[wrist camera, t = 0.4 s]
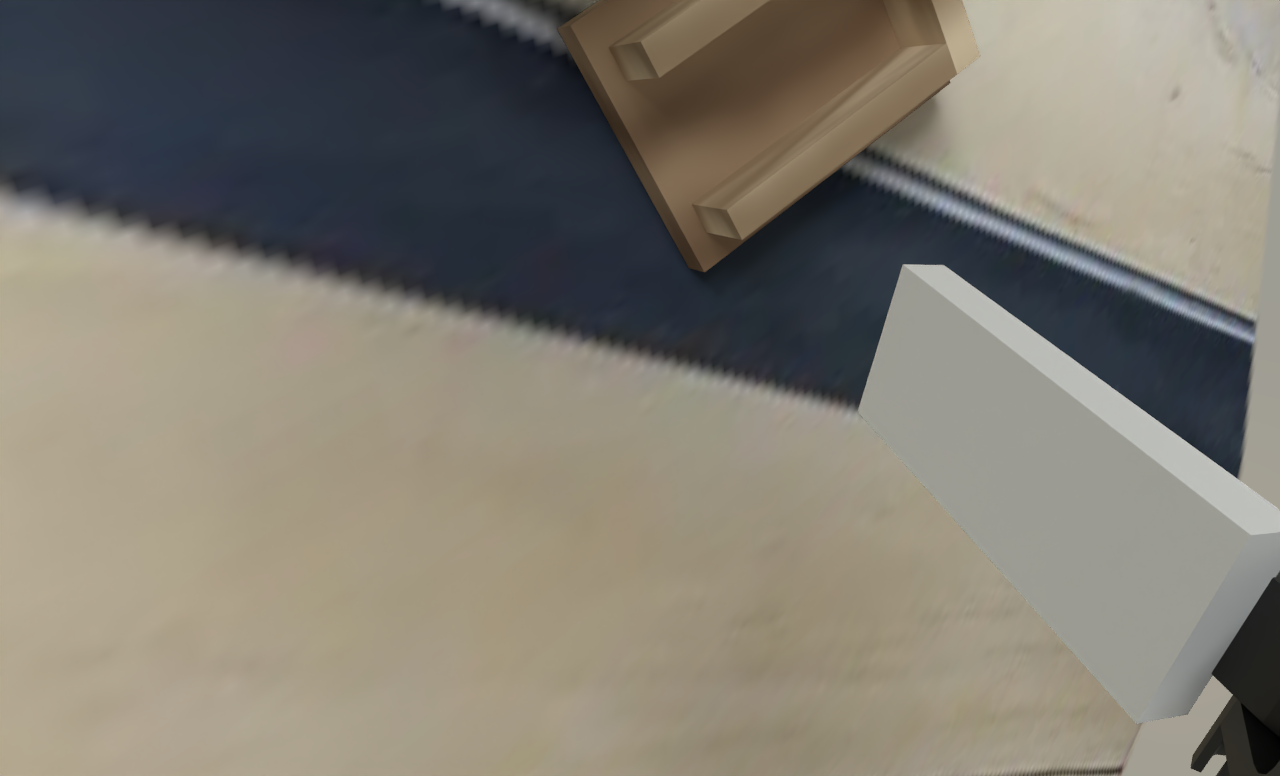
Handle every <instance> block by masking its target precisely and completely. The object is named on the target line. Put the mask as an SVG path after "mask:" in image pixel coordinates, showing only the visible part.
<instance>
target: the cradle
mask: <svg viewBox="0 0 1280 776" xmlns="http://www.w3.org/2000/svg"><path fill="white" fill-rule="evenodd" d="M557 30H558V32H559V34H560V35H561V37H562V39H563V41H564V43H565V44H566V46H567V48H568V50H569V52H570V53H571V55H572V57H573V59H574V61H575V63H576V64H577V66H578V68H579V70H580V72H581V73H582V75H583V77H584V79H585V81H586V82H587V84H588V86H589V88H590V90H591V92H592V93H593V95H594V97H595V99H596V101H597V102H598V104H599V106H600V108H601V110H602V111H603V113H604V115H605V117H606V119H607V120H608V122H609V124H610V126H611V128H612V130H613V131H614V133H615V135H616V137H617V139H618V140H619V142H620V144H621V146H622V148H623V149H624V151H625V153H626V155H627V157H628V159H629V160H630V162H631V164H632V166H633V168H634V169H635V171H636V173H637V175H638V177H639V178H640V180H641V182H642V184H643V186H644V187H645V189H646V191H647V193H648V195H649V197H650V198H651V200H652V202H653V204H654V206H655V207H656V209H657V211H658V213H659V215H660V216H661V218H662V220H663V222H664V224H665V226H666V227H667V229H668V231H669V233H670V235H671V236H672V238H673V240H674V242H675V244H676V245H677V247H678V249H679V251H680V253H681V255H682V256H683V258H684V260H685V262H686V264H687V265H688V267H689V268H691V269H694V270H698V271H701V272H706V271H707V270H709V269H710V268H711V267H712V266H714V265H715V264H716V263H718V262H719V261H720V260H722V259H723V258H724V257H725V256H727V255H728V254H729V253H731V252H732V251H733V250H734V249H736V248H737V247H738V246H740V245H741V244H742V243H744V242H745V241H746V240H747V239H749V238H750V237H751V236H753V235H754V234H755V233H756V232H758V231H759V230H760V229H762V228H763V227H764V226H766V225H767V224H768V223H769V222H771V221H772V220H773V219H775V218H776V217H777V216H779V215H780V214H781V213H782V212H784V211H785V210H786V209H788V208H789V207H790V206H791V205H793V204H794V203H795V202H797V201H798V200H799V199H801V198H802V197H803V196H804V195H806V194H807V193H808V192H810V191H811V190H812V189H813V188H815V187H816V186H817V185H819V184H820V183H821V182H823V181H824V180H825V179H826V178H828V177H829V176H830V175H832V174H833V173H834V172H836V171H837V170H838V169H839V168H841V167H842V166H843V165H845V164H846V163H847V162H848V161H850V160H851V159H852V158H854V157H855V156H856V155H858V154H859V153H860V152H861V151H863V150H864V149H865V148H867V147H868V146H869V145H870V144H872V143H873V142H874V141H876V140H877V139H878V138H880V137H881V136H882V135H883V134H885V133H886V132H887V131H889V130H890V129H891V128H893V127H894V126H895V125H896V124H898V123H899V122H900V121H902V120H903V119H904V118H905V117H907V116H908V115H909V114H911V113H912V112H913V111H915V110H916V109H917V108H918V107H920V106H921V105H922V104H924V103H925V102H926V101H927V100H929V99H930V98H931V97H933V96H934V95H935V94H937V93H938V92H939V91H940V90H942V89H943V88H944V87H946V86H947V85H948V84H950V79H952V78H953V77H954V76H955V75H957V74H958V73H959V72H961V71H962V70H963V69H965V68H966V67H967V66H968V65H970V64H971V63H972V62H974V61H975V60H976V59H978V58H979V57H980V54H979V51H978V48H977V45H976V42H975V38H974V35H973V32H972V29H971V26H970V23H969V20H968V17H967V14H966V11H965V8H964V5H963V2H962V0H599V1H598V2H596V3H595V4H593V5H592V6H590V7H589V8H587V9H586V10H584V11H583V12H581V13H580V14H578V15H577V16H575V17H574V18H572V19H571V20H569V21H568V22H566V23H565V24H563V25H562V26H560V27H559V28H557Z"/></svg>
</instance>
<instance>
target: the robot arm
mask: <svg viewBox="0 0 1280 776" xmlns="http://www.w3.org/2000/svg"><path fill="white" fill-rule="evenodd" d="M858 413H859V414H860V415H861V416H862V417H863V418H864V420H865V421H866V422H867V423H868V424H869V425H870V426H871V427H872V428H873V430H874V431H875V432H876V433H877V434H878V435H879V436H880V437H881V439H882V440H883V441H884V442H885V443H886V444H887V445H888V446H889V448H890V449H891V450H892V451H893V452H894V453H895V454H896V455H897V456H898V458H899V459H900V460H901V461H902V462H903V463H904V464H905V465H906V467H907V468H908V469H909V470H910V471H911V472H912V473H913V474H914V475H915V477H916V478H917V479H918V480H919V481H920V482H921V483H922V484H923V486H924V487H925V488H926V489H927V490H928V491H929V492H930V493H931V494H932V496H933V497H934V498H935V499H936V500H937V501H938V502H939V503H940V505H941V506H942V507H943V508H944V509H945V510H946V511H947V512H948V513H949V515H950V516H951V517H952V518H953V519H954V520H955V521H956V522H957V524H958V525H959V526H960V527H961V528H962V529H963V530H964V531H965V532H966V534H967V535H968V536H969V537H970V538H971V539H972V540H973V541H974V543H975V544H976V545H977V546H978V547H979V548H980V549H981V550H982V552H983V553H984V554H985V555H986V556H987V557H988V558H989V559H990V560H991V562H992V563H993V564H994V565H995V566H996V567H997V568H998V569H999V571H1000V572H1001V573H1002V574H1003V575H1004V576H1005V577H1006V578H1007V579H1008V581H1009V582H1010V583H1011V584H1012V585H1013V586H1014V587H1015V588H1016V590H1017V591H1018V592H1019V593H1020V594H1021V595H1022V596H1023V597H1024V598H1025V600H1026V601H1027V602H1028V603H1029V604H1030V605H1031V606H1032V607H1033V609H1034V610H1035V611H1036V612H1037V613H1038V614H1039V615H1040V616H1041V617H1042V619H1043V620H1044V621H1045V622H1046V623H1047V624H1048V625H1049V626H1050V628H1051V629H1052V630H1053V631H1054V632H1055V633H1056V634H1057V635H1058V637H1059V638H1060V639H1061V640H1062V641H1063V642H1064V643H1065V644H1066V645H1067V647H1068V648H1069V649H1070V650H1071V651H1072V652H1073V653H1074V654H1075V656H1076V657H1077V658H1078V659H1079V660H1080V661H1081V662H1082V663H1083V664H1084V666H1085V667H1086V668H1087V669H1088V670H1089V671H1090V672H1091V673H1092V675H1093V676H1094V677H1095V678H1096V679H1097V680H1098V681H1099V682H1100V683H1101V685H1102V686H1103V687H1104V688H1105V689H1106V690H1107V691H1108V692H1109V694H1110V695H1111V696H1112V697H1113V698H1114V699H1115V700H1116V701H1117V702H1118V704H1119V705H1120V706H1121V707H1122V708H1123V709H1124V710H1125V711H1126V713H1127V714H1128V715H1129V716H1130V717H1131V718H1132V719H1133V720H1134V722H1135V723H1136V724H1138V723H1143V722H1148V721H1153V720H1159V719H1165V718H1170V717H1175V716H1181V715H1186V714H1188V713H1189V711H1190V709H1191V708H1192V707H1193V705H1194V703H1195V702H1196V700H1197V699H1198V697H1199V696H1200V694H1201V692H1202V691H1203V689H1204V688H1205V686H1206V685H1207V683H1208V682H1209V680H1210V679H1211V677H1212V675H1213V676H1214V677H1215V678H1216V679H1217V680H1219V681H1220V682H1221V683H1222V684H1223V685H1224V686H1225V687H1226V688H1227V689H1228V690H1229V691H1230V692H1231V693H1232V694H1233V696H1232V697H1231V699H1230V700H1229V702H1228V703H1227V705H1226V706H1225V708H1224V709H1223V711H1222V712H1221V714H1220V715H1219V717H1218V718H1217V720H1216V722H1215V723H1214V724H1213V726H1212V727H1211V729H1210V730H1209V732H1208V733H1207V735H1206V736H1205V738H1204V739H1203V741H1202V742H1201V744H1200V745H1199V747H1198V748H1197V750H1196V751H1195V753H1194V754H1193V757H1192V763H1191V769H1194V770H1196V771H1199V772H1201V771H1202V770H1203V769H1204V767H1205V765H1206V764H1207V763H1208V761H1209V760H1210V758H1211V757H1212V756H1213V755H1215V754H1218V755H1226V759H1227V761H1226V762H1225V764H1224V765H1223V767H1222V768H1221V769H1220V771H1219V772H1218V774H1217V775H1216V776H1280V510H1279V509H1278V508H1277V507H1275V506H1274V505H1272V504H1271V503H1270V502H1268V501H1267V500H1265V499H1264V498H1263V497H1261V496H1260V495H1259V494H1257V493H1256V492H1254V491H1253V490H1252V489H1250V488H1249V487H1248V486H1246V485H1245V484H1244V483H1242V482H1241V481H1239V480H1238V479H1237V478H1235V477H1234V476H1233V475H1231V474H1230V473H1228V472H1227V471H1226V470H1224V469H1223V468H1222V467H1220V466H1219V465H1217V464H1216V463H1215V462H1213V461H1212V460H1211V459H1209V458H1208V457H1206V456H1205V455H1204V454H1202V453H1201V452H1200V451H1198V450H1197V449H1195V448H1194V447H1193V446H1191V445H1190V444H1189V443H1187V442H1186V441H1185V440H1183V439H1182V438H1180V437H1179V436H1178V435H1176V434H1175V433H1174V432H1172V431H1171V430H1169V429H1168V428H1167V427H1165V426H1164V425H1163V424H1161V423H1160V422H1158V421H1157V420H1156V419H1154V418H1153V417H1152V416H1150V415H1149V414H1147V413H1146V412H1145V411H1143V410H1142V409H1141V408H1139V407H1138V406H1136V405H1135V404H1134V403H1132V402H1131V401H1130V400H1128V399H1127V398H1125V397H1124V396H1123V395H1121V394H1120V393H1119V392H1117V391H1116V390H1114V389H1113V388H1112V387H1110V386H1109V385H1108V384H1106V383H1105V382H1103V381H1102V380H1101V379H1099V378H1098V377H1097V376H1095V375H1094V374H1092V373H1091V372H1090V371H1088V370H1087V369H1086V368H1084V367H1083V366H1081V365H1080V364H1079V363H1077V362H1076V361H1075V360H1073V359H1072V358H1071V357H1069V356H1068V355H1066V354H1065V353H1064V352H1062V351H1061V350H1060V349H1058V348H1057V347H1055V346H1054V345H1053V344H1051V343H1050V342H1049V341H1047V340H1046V339H1044V338H1043V337H1042V336H1040V335H1039V334H1038V333H1036V332H1035V331H1033V330H1032V329H1031V328H1029V327H1028V326H1027V325H1025V324H1024V323H1022V322H1021V321H1020V320H1018V319H1017V318H1016V317H1014V316H1013V315H1011V314H1010V313H1009V312H1007V311H1006V310H1005V309H1003V308H1002V307H1000V306H999V305H998V304H996V303H995V302H994V301H992V300H991V299H989V298H988V297H987V296H985V295H984V294H983V293H981V292H980V291H978V290H977V289H976V288H974V287H973V286H972V285H970V284H969V283H968V282H966V281H965V280H963V279H962V278H961V277H959V276H958V275H957V274H955V273H954V272H952V271H951V270H950V269H948V268H947V267H946V266H944V265H906V264H903V266H902V269H901V272H900V275H899V279H898V282H897V285H896V289H895V292H894V295H893V298H892V302H891V305H890V308H889V311H888V315H887V318H886V321H885V324H884V328H883V331H882V334H881V338H880V341H879V344H878V347H877V351H876V354H875V357H874V360H873V364H872V367H871V370H870V373H869V377H868V380H867V383H866V386H865V390H864V393H863V396H862V400H861V403H860V406H859V409H858Z"/></svg>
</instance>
